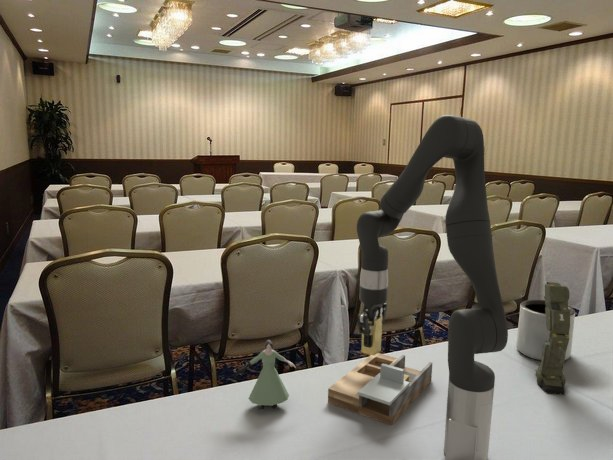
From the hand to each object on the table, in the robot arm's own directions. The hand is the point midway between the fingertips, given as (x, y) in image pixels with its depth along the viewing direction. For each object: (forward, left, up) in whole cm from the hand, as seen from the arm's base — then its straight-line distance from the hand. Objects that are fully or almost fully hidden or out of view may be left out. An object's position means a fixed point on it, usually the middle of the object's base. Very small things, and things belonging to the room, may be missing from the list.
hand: (371, 343), depth 137 cm
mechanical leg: (+30, -42, -12) cm, 53 cm away
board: (-2, -5, -12) cm, 13 cm away
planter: (+51, -37, -12) cm, 64 cm away
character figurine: (-26, +16, -12) cm, 33 cm away
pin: (0, 0, -2) cm, 2 cm away
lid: (-10, -9, -6) cm, 15 cm away
